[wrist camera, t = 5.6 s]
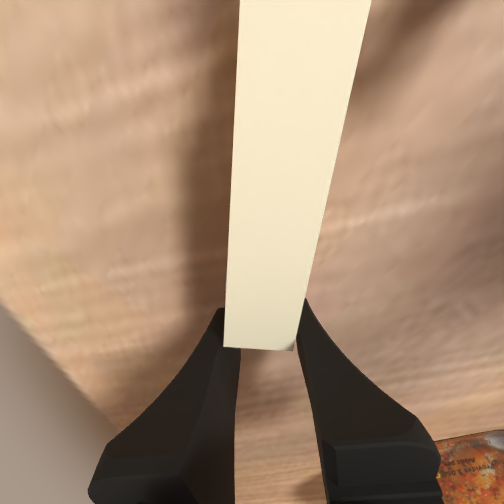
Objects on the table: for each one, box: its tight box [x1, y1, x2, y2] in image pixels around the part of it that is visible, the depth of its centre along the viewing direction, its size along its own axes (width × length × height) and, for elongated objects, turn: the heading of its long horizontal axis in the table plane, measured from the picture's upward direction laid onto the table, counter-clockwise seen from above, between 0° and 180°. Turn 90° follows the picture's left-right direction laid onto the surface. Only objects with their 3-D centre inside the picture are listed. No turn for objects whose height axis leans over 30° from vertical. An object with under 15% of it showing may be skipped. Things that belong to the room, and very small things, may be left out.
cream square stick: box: [223, 0, 371, 351], centre depth 10 cm, size 3×10×4 cm, turn 175°
